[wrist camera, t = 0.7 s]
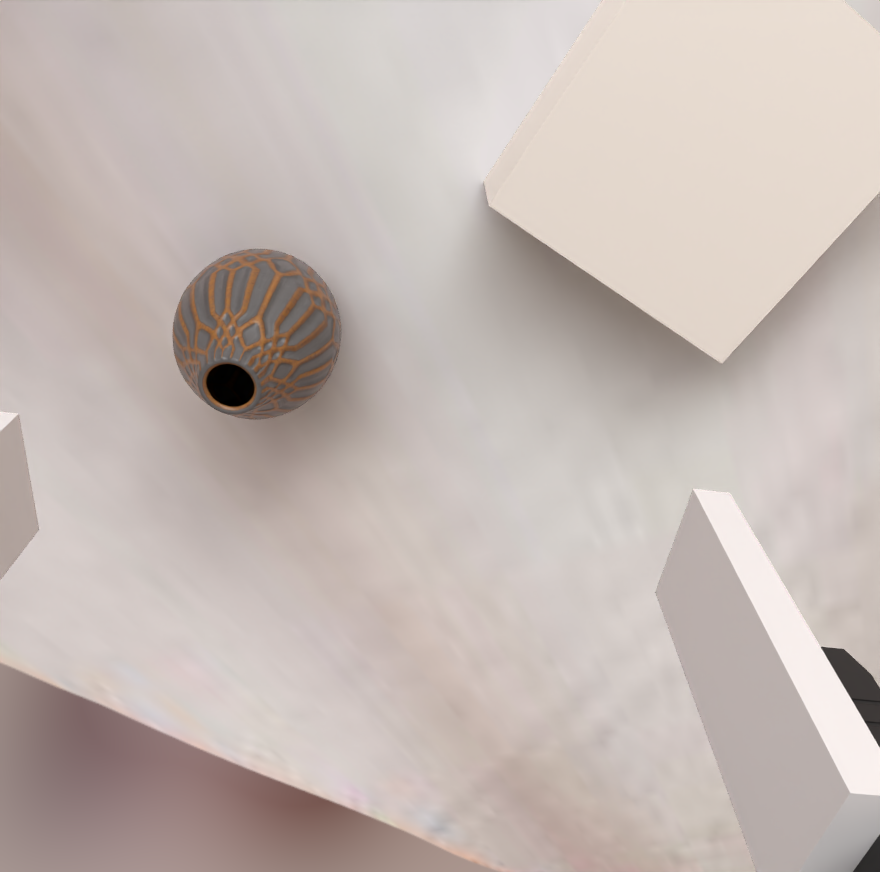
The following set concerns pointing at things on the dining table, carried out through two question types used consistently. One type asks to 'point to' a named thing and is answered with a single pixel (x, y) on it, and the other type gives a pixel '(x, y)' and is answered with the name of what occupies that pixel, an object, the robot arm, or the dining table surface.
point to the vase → (256, 334)
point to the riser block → (700, 154)
